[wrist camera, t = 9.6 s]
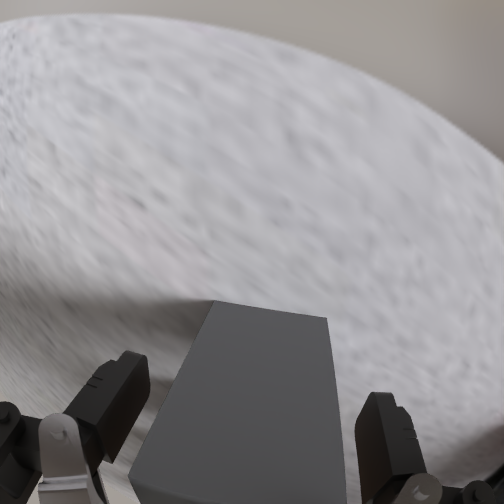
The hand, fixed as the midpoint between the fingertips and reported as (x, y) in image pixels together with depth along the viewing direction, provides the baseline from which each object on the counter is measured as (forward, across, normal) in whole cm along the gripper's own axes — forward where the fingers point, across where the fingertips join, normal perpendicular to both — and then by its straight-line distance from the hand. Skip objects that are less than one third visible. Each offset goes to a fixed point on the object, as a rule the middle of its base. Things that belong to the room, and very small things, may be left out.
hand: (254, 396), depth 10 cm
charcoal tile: (+4, 0, 0) cm, 4 cm away
